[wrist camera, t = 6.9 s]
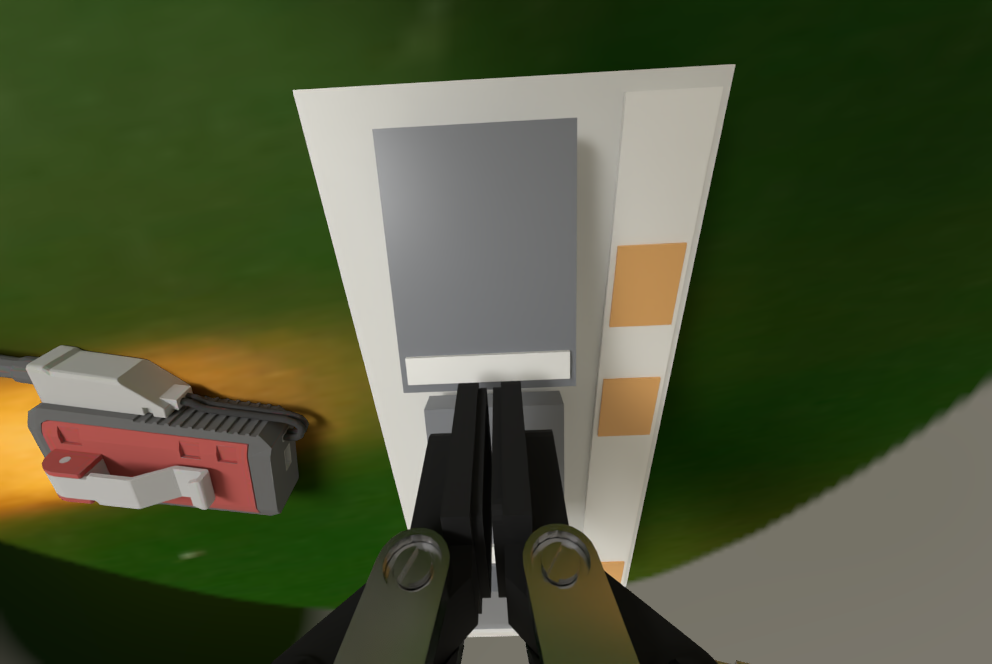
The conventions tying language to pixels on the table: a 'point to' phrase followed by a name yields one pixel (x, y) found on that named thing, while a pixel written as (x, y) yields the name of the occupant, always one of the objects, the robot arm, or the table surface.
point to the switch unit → (600, 258)
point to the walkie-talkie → (154, 436)
